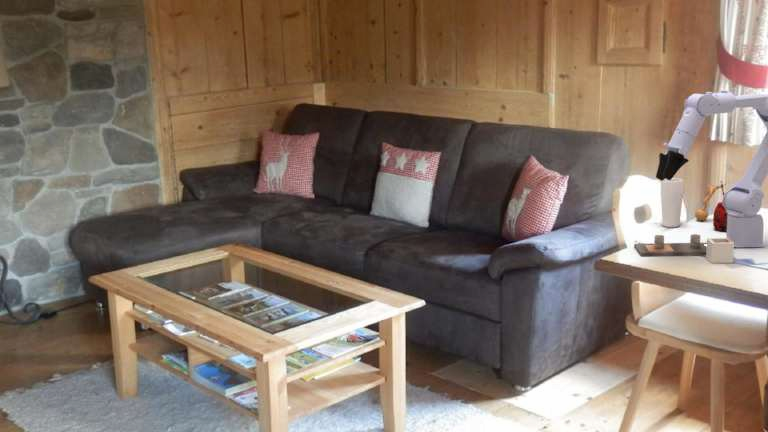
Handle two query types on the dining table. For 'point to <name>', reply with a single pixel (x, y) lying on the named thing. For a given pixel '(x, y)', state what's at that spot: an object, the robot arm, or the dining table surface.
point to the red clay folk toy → (720, 215)
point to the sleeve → (720, 250)
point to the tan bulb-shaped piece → (702, 213)
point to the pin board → (672, 247)
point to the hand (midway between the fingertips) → (662, 179)
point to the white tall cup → (671, 201)
